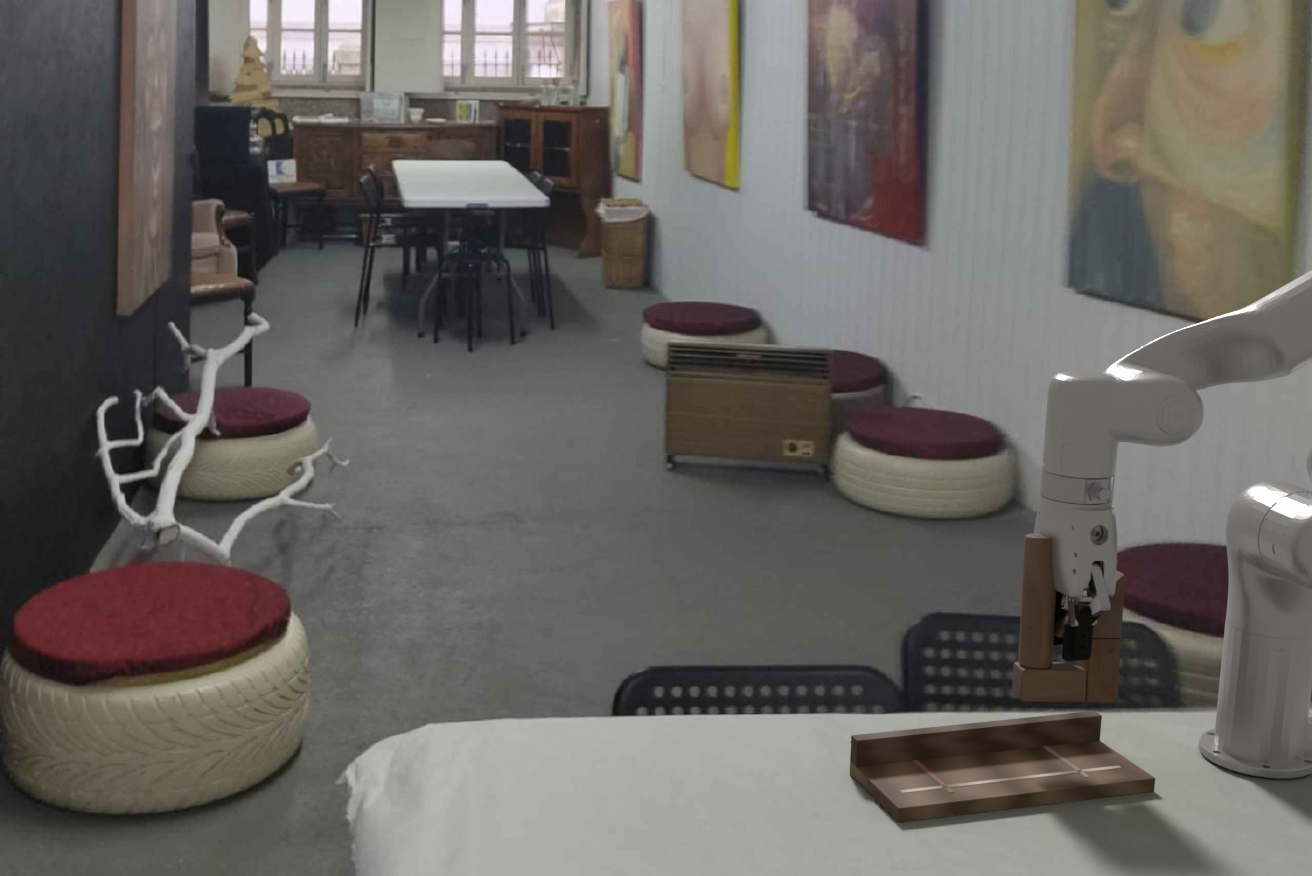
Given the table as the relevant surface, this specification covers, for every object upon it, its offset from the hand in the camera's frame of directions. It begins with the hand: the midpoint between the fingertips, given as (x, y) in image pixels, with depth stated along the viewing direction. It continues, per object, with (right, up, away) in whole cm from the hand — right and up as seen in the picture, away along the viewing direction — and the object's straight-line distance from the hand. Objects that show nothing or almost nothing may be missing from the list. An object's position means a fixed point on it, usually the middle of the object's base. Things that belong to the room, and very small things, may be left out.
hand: (1063, 650), depth 161 cm
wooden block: (0, -6, +1) cm, 6 cm away
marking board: (-7, -14, -2) cm, 16 cm away
